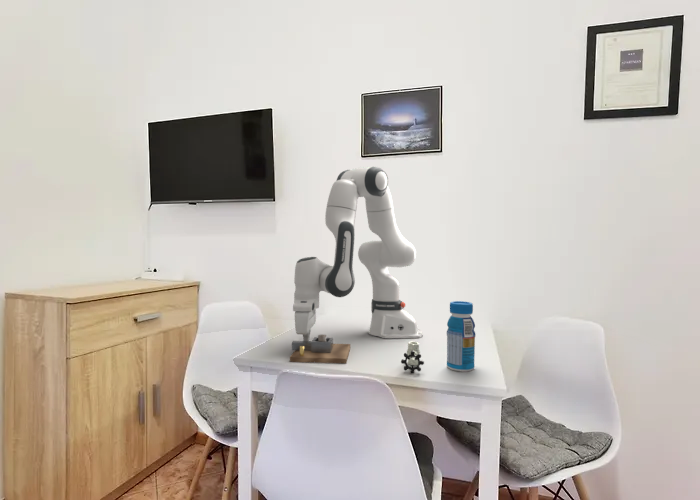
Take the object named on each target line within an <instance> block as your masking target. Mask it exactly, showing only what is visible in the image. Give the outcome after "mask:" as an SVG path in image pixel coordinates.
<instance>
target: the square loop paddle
mask: <svg viewBox="0 0 700 500" xmlns="http://www.w3.org/2000/svg"><path fill="white" fill-rule="evenodd" d="M333 344H334V338H333V337H326V342H323V341H318V336H317V337H315V336H314V338H313V339H312V340H311V341H310V340H309V341H303V340H293V341H292V342H291V351H295V350H300V346H304V351H311V352H312V353H331V351H332V349H333Z"/></svg>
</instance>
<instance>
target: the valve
mask: <svg viewBox="0 0 700 500" xmlns="http://www.w3.org/2000/svg"><path fill="white" fill-rule="evenodd" d="M407 344H408V345H407V350H406V352H404V354H403V357H404V358H403V359H401V361H400V363H401V365H402V364H404V365H405V366H403V370H404V371H405V372H406V371H408V370H410V371H409V372H410V374H414V373H415V370H416V371H417V372H421V371H422V367H420V366H423V365H425V361H424V360H423V359H422V360H421V358H422V354H421V351H420V345H419V344H420V342H418V341H409V342H407ZM409 365H410V366H409Z"/></svg>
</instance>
